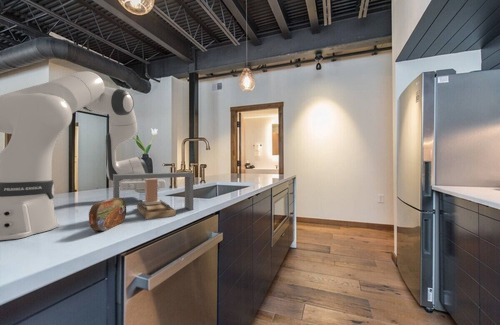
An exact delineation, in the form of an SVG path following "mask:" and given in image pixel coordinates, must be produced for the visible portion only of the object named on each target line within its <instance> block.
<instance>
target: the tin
mask: <svg viewBox="0 0 500 325" xmlns="http://www.w3.org/2000/svg"><path fill="white" fill-rule="evenodd" d="M126 214H127V204H126V201H125V200H124V198H122V197H120V196H119V198H108V199H106V200H102V201H99V202H95V203H94V204H93V205H92V206H91V207H90V208H89V211H88V223H89V226H90V228H91V229H92V230H93V231H95V232H106V231H109V230H110V229H112V228H114V227H116V226H119V225H121V224H122V223H123V222H124V220H125V219H126Z"/></svg>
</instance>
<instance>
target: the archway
mask: <svg viewBox="0 0 500 325" xmlns="http://www.w3.org/2000/svg"><path fill="white" fill-rule="evenodd" d="M146 178H159V179H166V178H167V179H168V178H184V208H185V209H187V210H189V211H194V173H193V172H190V171H189V172H185V171H184V172H183V171H182V172H181V171H180V172H156V173H155V172H152V173H151V172H150V173H149V172H148V173H146V174H113V181H112V196H113V198H119V197H120V187H119V184H120V181H119V180H121V181H123V180H130V179H146ZM122 179H123V180H122Z"/></svg>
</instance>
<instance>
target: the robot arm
mask: <svg viewBox="0 0 500 325" xmlns="http://www.w3.org/2000/svg"><path fill="white" fill-rule="evenodd" d="M134 102H135V101H134V98H133V96H132V95H131V94H130V92H128V91H127V90H125V89H121V88H114V87H109V86H105V82H104V81H103V79H102V78H101V76H99V75H98V74H96V73H95V72H92V71H89V70H87V71H85V70H84V71H78V72H73V73H69V74H66V75H64V76H61V77H58V78H56V79H52V80H50V81H48V82H45V83H41V84H36V85H33V86H28V87H25V88H22V89H18V90H14V91H12V92H8V93H4V94H1V95H0V133H3V134H10V135H11V136H10V140H9V142H8V143H7V145H6V146H5V148H3V149H2V150H1V151H0V241H4V240H5V241H6V240H8V241H9V240H15V239H16V240H17V239H23V238H26V237H30V236H33V235H35V234H39V233H44V232H47V231H50V230H53V229H56V228H58V227H59V226H60V223H59V221H58V219H57V218H58V217H57V215H56V211H55V205H54V200H53V199H54V197H55V184H54V180H53V179H52V176H53V175H52V174H53V173H52V172H53V171H52V170H53V168H52V167H53V155H54V149H55V146H56V143H57V141H58V139H59V137H60V135H61V134H62V133H63V131H64V130H65V129H67V128H68V127H69V126H70V125H71V123H72V120H73V114H74V113H76V112H78V111H79V110H81V109H83V110H85V111H88V112H96V113H99V114H104V115H105V114H106V115H108V117H109V121H110V122H109V123H110V129H109V132H107V134H106V135H105V154H106V155H105V156H106V157H105V159H106V166H105V168H106V170H105V173H106V177H107V179H108V180H110V181H111V182H113V174H146V173H149V169H148V166H147V164H146V162H145V160H144V159H143V158H142V157H140V156H136V157H131V158H128V159H127V158H126V159H123V160H119V161H118V160H117V149H118V147H119V146H122V144H124V143H126V142H127V141H129V140H131V139H132V138H134V137H135V135H137V132H138V120H137V117H136V113H135V108H134V105H135V103H134ZM146 179H157V190H160V189H165V188H166V187H167V184H166V183H167V182H166V180H165V179H164V178H146ZM123 180H124V179H122V180H119V191H135V192H136V193H139V194H144V193H145V179H129V181H125V180H124V181H123Z"/></svg>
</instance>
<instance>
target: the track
mask: <svg viewBox="0 0 500 325" xmlns="http://www.w3.org/2000/svg"><path fill="white" fill-rule="evenodd" d="M159 200H160V201H161V204H153V205H144V204H143V203H142V201H138V203H137V204H136V209H137V211H139V213H140V215H142V217H143V218H144V219H145V220H151V219H160V218H168V217H174V216H176V215H177V212H176V209H174V208H173V207H172V206H170V205H169V204H168V203H167V202H165V201H163V200H162V199H159Z"/></svg>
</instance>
